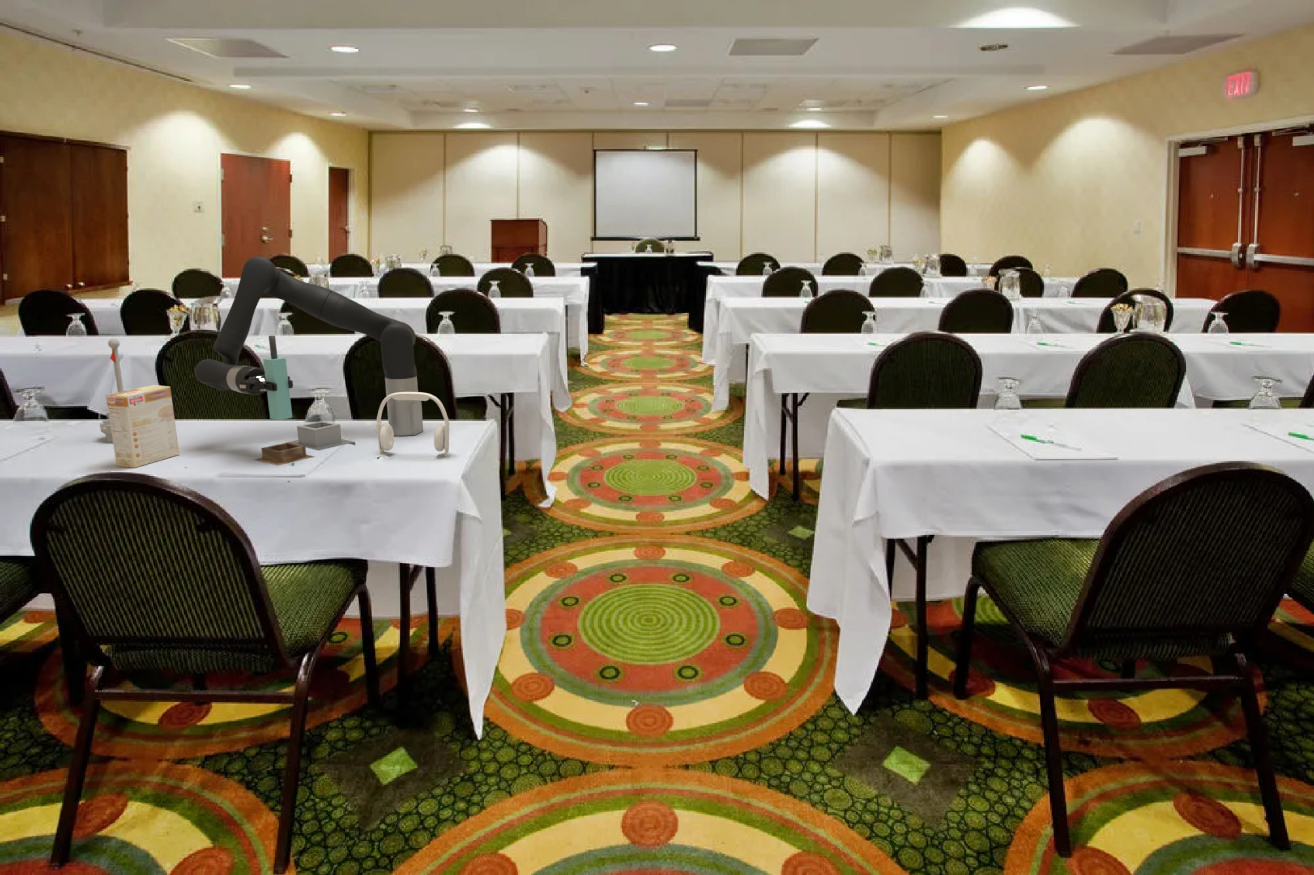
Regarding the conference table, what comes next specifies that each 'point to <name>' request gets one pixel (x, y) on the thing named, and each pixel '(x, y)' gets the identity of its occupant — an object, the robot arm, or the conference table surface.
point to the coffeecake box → (142, 425)
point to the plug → (278, 375)
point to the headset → (386, 430)
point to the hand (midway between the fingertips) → (283, 385)
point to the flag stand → (115, 358)
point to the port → (320, 435)
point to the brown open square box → (283, 453)
